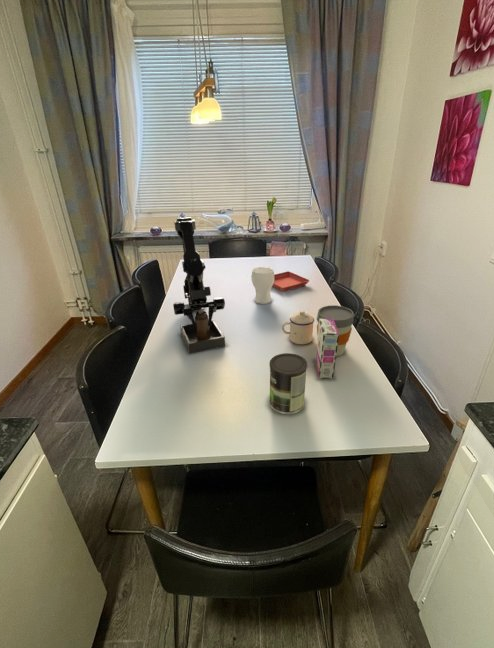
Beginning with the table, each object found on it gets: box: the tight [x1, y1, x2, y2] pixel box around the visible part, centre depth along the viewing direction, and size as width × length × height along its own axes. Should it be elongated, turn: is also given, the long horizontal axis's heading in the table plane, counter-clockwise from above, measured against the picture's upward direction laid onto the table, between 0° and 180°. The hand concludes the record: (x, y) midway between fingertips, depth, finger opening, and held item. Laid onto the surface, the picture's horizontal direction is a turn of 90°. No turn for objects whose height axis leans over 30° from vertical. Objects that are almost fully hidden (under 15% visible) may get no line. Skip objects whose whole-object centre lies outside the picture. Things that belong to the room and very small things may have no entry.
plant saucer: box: [272, 270, 310, 292], centre depth 184 cm, size 18×18×3 cm
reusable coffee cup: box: [316, 304, 355, 357], centre depth 123 cm, size 13×13×15 cm
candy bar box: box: [315, 319, 339, 380], centre depth 112 cm, size 11×5×16 cm, turn 178°
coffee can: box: [268, 352, 308, 415], centre depth 99 cm, size 10×10×14 cm
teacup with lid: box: [281, 310, 315, 345], centre depth 131 cm, size 12×9×12 cm
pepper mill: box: [194, 309, 210, 341], centre depth 129 cm, size 5×5×14 cm
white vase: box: [251, 266, 275, 305], centre depth 163 cm, size 11×11×15 cm
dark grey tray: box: [179, 319, 226, 354], centre depth 134 cm, size 16×14×4 cm
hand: (202, 327), depth 128 cm, fingers closed on pepper mill, 5 cm apart
